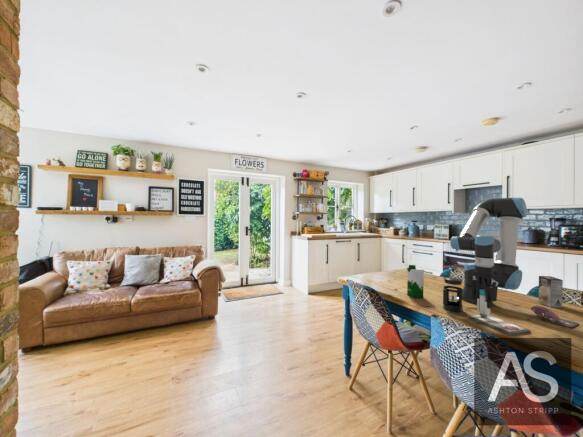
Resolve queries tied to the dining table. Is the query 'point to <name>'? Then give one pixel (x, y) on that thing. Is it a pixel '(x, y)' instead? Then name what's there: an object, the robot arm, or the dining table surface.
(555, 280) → the coffee box
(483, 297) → the marker
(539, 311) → the purple oval lump
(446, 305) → the black lantern
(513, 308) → the dining table surface
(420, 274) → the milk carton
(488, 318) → the tablet
